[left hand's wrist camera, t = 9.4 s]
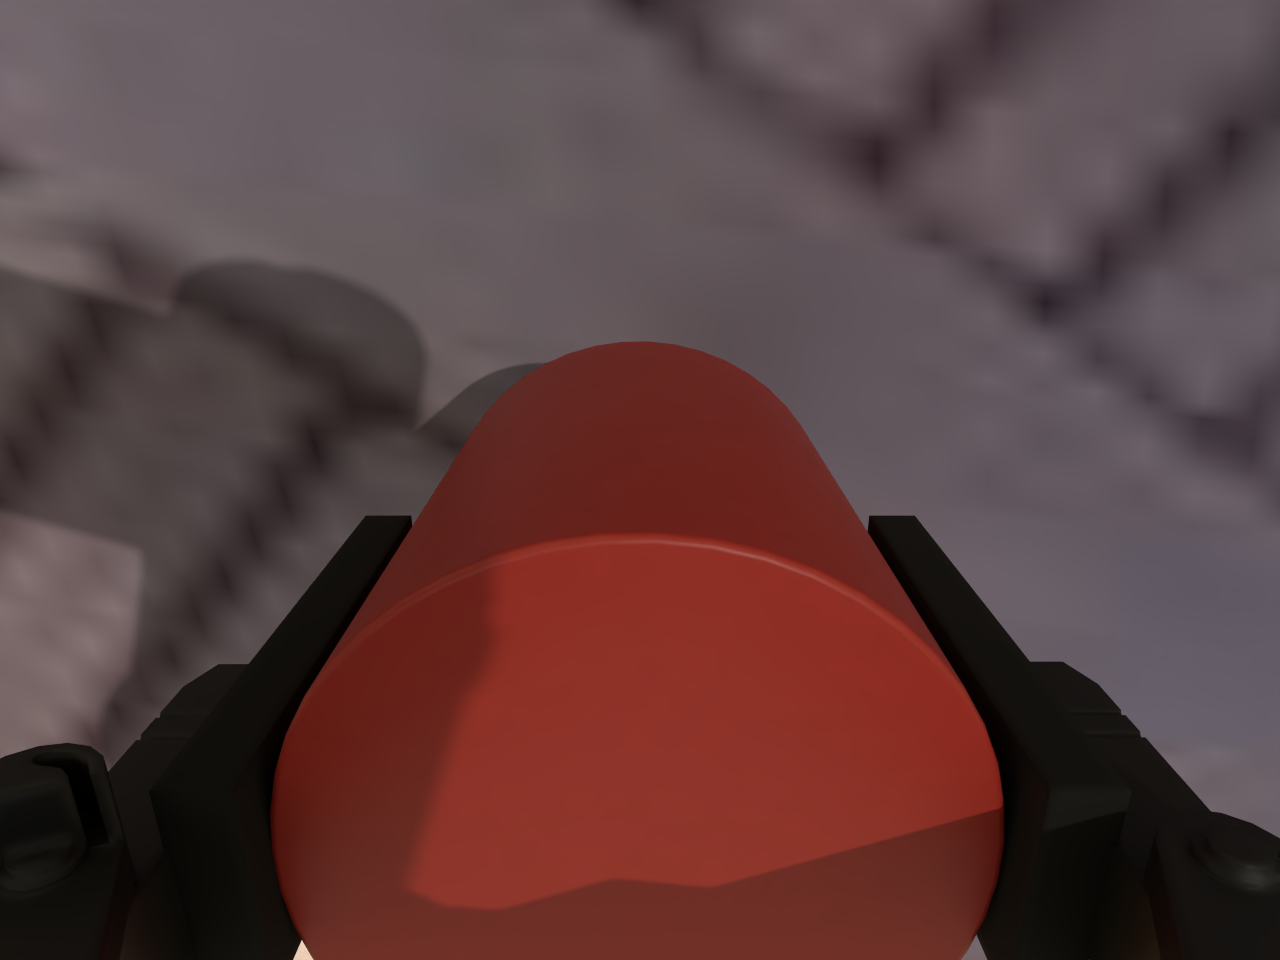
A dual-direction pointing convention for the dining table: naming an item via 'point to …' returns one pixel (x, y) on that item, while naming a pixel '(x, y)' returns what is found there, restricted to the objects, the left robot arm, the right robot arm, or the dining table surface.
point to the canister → (637, 704)
